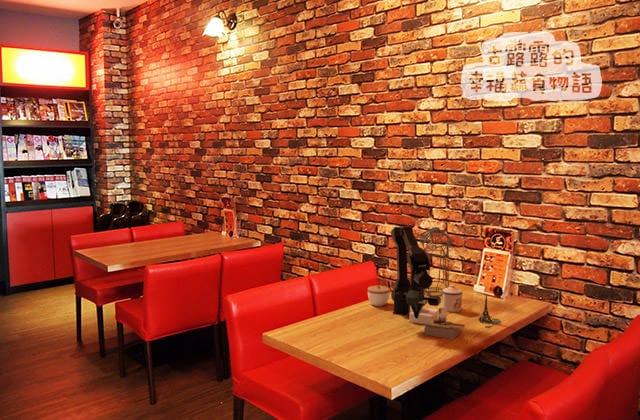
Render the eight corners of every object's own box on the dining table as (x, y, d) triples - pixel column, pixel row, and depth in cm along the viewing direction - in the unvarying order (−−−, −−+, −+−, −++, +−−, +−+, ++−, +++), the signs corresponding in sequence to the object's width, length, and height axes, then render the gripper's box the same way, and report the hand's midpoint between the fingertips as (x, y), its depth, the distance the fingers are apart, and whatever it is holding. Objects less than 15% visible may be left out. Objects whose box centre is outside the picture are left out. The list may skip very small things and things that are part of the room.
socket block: (424, 334, 219) (424, 327, 219) (430, 326, 228) (430, 320, 228) (454, 339, 214) (454, 331, 213) (459, 331, 223) (459, 324, 222)
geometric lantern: (443, 289, 285) (446, 224, 280) (452, 298, 270) (456, 230, 265) (414, 289, 284) (416, 224, 279) (421, 299, 269) (424, 230, 264)
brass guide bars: (428, 325, 220) (428, 319, 220) (432, 321, 225) (432, 314, 225) (462, 330, 214) (462, 323, 214) (465, 326, 219) (465, 319, 219)
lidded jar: (365, 306, 257) (365, 287, 256) (370, 300, 267) (370, 281, 266) (387, 308, 254) (387, 289, 252) (391, 302, 264) (392, 283, 262)
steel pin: (437, 333, 220) (437, 309, 219) (439, 330, 223) (439, 307, 222) (445, 334, 219) (445, 310, 218) (446, 332, 222) (447, 308, 220)
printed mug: (456, 313, 245) (457, 288, 244) (438, 310, 251) (439, 285, 249) (467, 307, 254) (468, 283, 253) (449, 303, 260) (450, 280, 258)
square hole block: (409, 322, 234) (409, 313, 234) (415, 315, 243) (415, 306, 243) (432, 325, 230) (432, 316, 229) (437, 318, 239) (438, 309, 238)
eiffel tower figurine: (488, 329, 226) (489, 298, 224) (466, 324, 233) (467, 294, 231) (505, 321, 236) (506, 291, 234) (484, 316, 243) (485, 287, 241)
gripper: (389, 284, 220) (389, 321, 222) (434, 289, 212) (434, 327, 214) (397, 277, 230) (397, 313, 232) (441, 282, 222) (440, 319, 224)
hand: (416, 318), depth 225 cm, fingers closed
